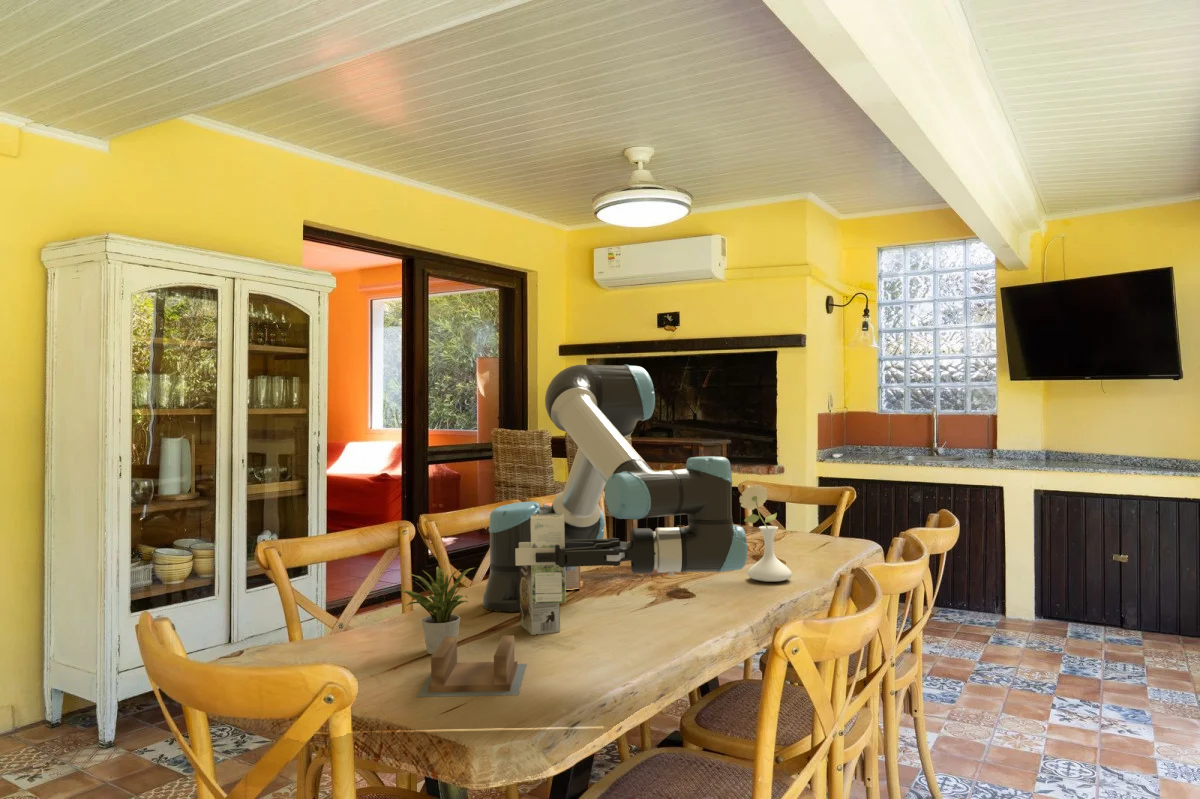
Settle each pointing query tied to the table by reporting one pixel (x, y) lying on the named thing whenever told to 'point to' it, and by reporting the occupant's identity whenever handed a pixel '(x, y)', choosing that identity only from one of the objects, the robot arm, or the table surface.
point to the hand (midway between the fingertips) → (517, 553)
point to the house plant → (439, 608)
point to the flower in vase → (768, 564)
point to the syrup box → (548, 577)
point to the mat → (513, 691)
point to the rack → (472, 669)
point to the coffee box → (536, 608)
